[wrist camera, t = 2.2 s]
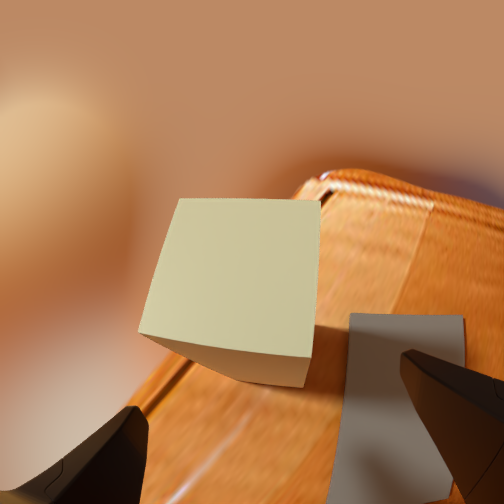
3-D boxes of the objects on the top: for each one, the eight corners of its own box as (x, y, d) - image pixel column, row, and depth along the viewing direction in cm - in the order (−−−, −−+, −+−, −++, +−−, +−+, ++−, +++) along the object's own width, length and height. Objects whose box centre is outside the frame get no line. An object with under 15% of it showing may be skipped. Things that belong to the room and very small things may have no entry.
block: (302, 387, 17) (311, 357, 6) (235, 380, 18) (138, 332, 7) (310, 323, 20) (320, 200, 8) (246, 318, 20) (179, 198, 9)
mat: (445, 496, 11) (448, 498, 10) (324, 508, 13) (325, 511, 12) (459, 317, 17) (462, 314, 17) (349, 315, 19) (351, 312, 19)
